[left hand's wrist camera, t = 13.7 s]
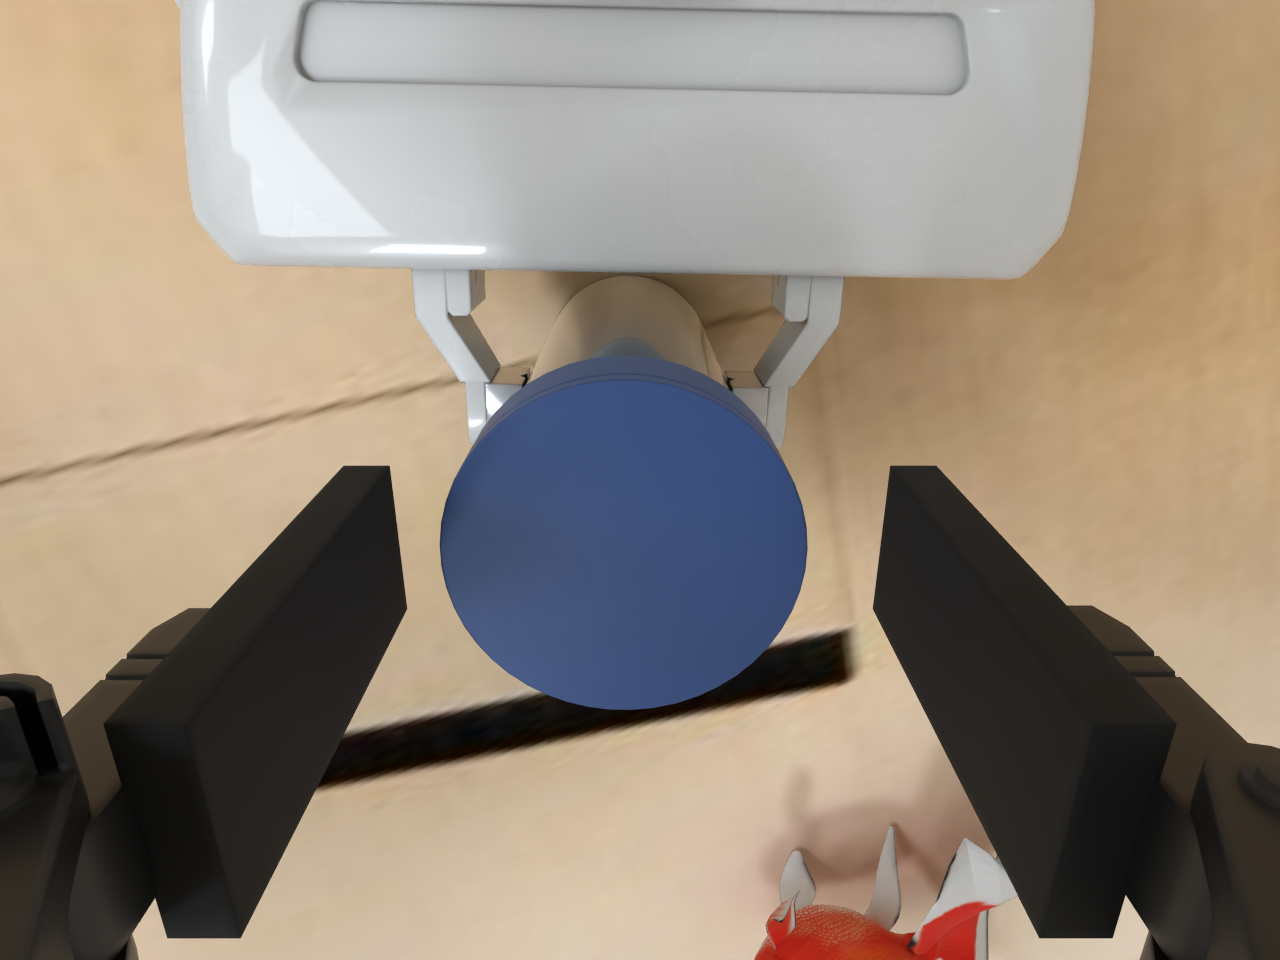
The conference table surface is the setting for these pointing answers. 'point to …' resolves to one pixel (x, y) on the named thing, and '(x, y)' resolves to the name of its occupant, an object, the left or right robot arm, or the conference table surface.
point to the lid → (623, 534)
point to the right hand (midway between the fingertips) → (628, 441)
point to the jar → (628, 327)
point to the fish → (889, 914)
